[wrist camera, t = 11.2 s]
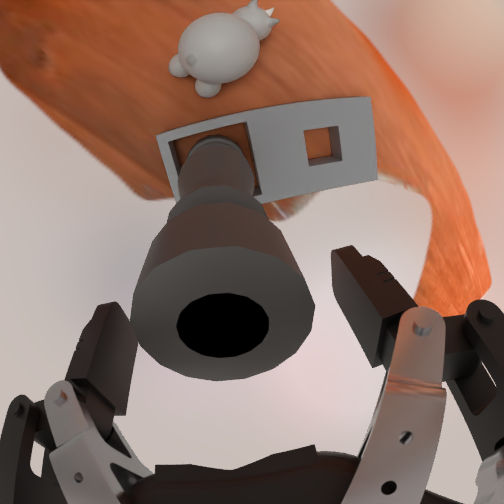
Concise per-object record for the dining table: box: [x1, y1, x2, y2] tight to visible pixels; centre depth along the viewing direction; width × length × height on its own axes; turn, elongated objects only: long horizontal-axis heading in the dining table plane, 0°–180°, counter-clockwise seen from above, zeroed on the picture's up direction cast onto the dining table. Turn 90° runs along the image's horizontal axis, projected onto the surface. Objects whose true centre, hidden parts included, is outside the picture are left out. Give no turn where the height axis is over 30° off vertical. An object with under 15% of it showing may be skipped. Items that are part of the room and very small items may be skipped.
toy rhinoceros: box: [169, 0, 280, 98], centre depth 20 cm, size 7×12×8 cm, turn 133°
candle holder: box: [130, 135, 315, 381], centre depth 19 cm, size 6×6×25 cm
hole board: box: [156, 96, 378, 204], centre depth 28 cm, size 10×23×3 cm, turn 101°
